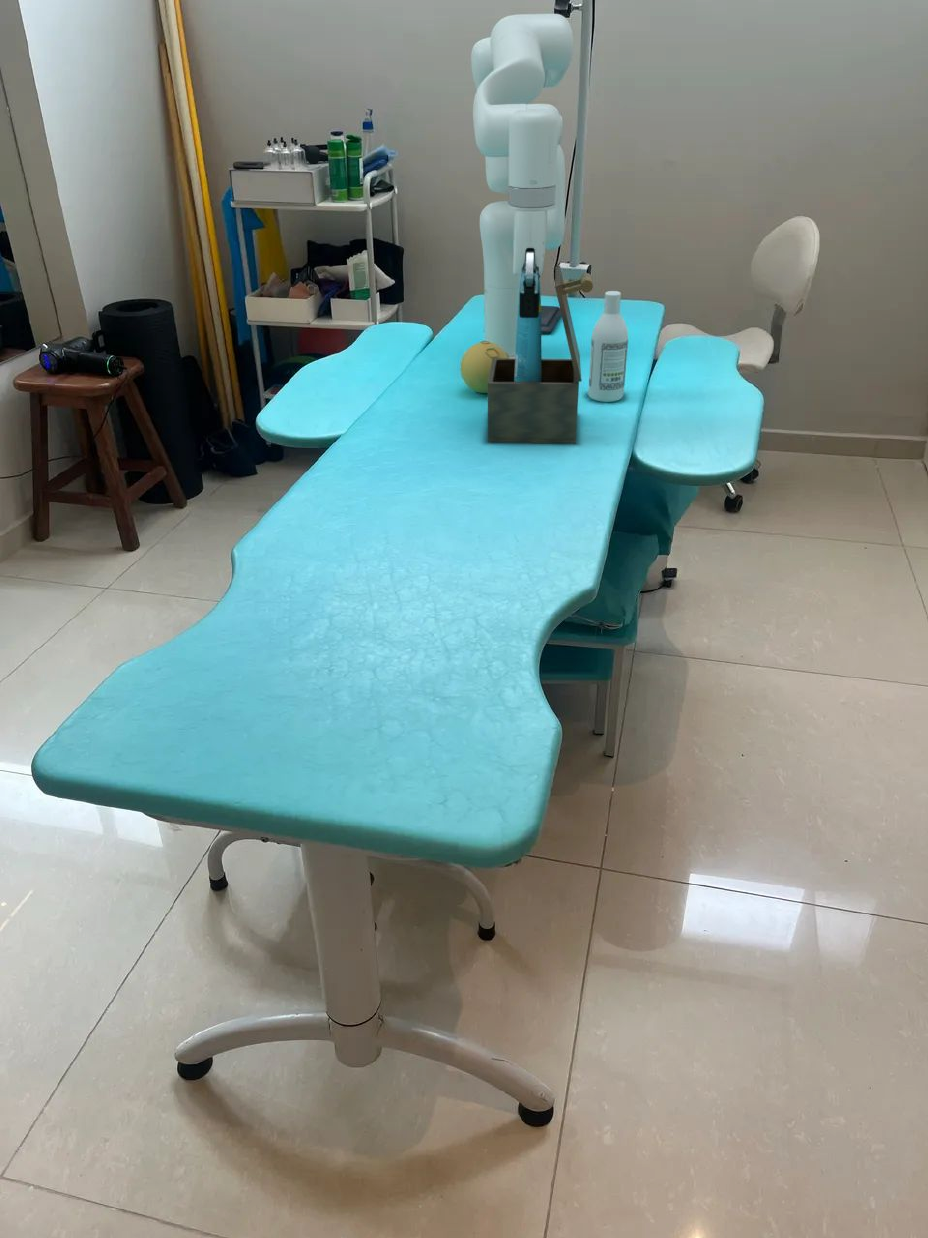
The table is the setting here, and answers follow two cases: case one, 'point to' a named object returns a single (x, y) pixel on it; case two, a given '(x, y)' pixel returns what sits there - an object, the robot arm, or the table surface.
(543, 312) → the wallet
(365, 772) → the table surface
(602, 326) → the bath foam
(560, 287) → the lid
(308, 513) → the table surface
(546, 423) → the chest
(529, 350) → the tube
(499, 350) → the stress ball
